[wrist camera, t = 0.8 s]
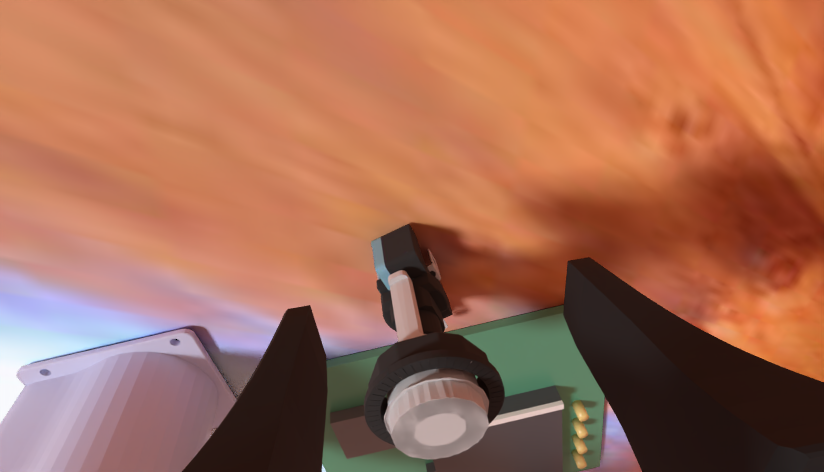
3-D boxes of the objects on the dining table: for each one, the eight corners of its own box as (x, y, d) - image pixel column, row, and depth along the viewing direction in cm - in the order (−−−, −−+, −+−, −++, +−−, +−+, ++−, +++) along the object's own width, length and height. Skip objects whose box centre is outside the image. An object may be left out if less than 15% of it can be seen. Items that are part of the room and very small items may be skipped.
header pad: (445, 499, 38) (449, 519, 37) (422, 416, 32) (425, 436, 31) (556, 473, 38) (564, 491, 37) (554, 385, 32) (563, 404, 31)
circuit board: (354, 516, 39) (355, 540, 37) (278, 371, 29) (275, 396, 27) (596, 459, 39) (606, 481, 38) (606, 294, 29) (621, 315, 27)
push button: (478, 293, 27) (540, 456, 19) (394, 330, 28) (419, 502, 20) (431, 203, 24) (483, 357, 16) (336, 249, 25) (338, 419, 16)
